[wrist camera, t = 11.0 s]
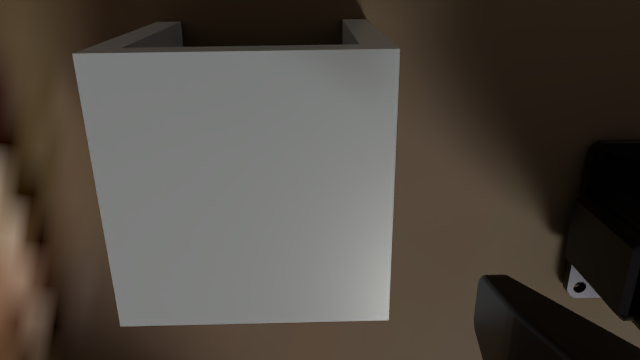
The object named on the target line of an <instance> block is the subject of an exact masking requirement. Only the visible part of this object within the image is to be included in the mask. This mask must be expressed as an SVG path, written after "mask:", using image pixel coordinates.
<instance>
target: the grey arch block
mask: <svg viewBox="0 0 640 360" xmlns="http://www.w3.org/2000/svg"><path fill="white" fill-rule="evenodd" d="M72 55H73V61H74V67H75V72H76V78H77V84H78V89H79V95H80V100H81V106H82V112H83V117H84V123H85V129H86V134H87V140H88V146H89V151H90V157H91V163H92V168H93V174H94V179H95V185H96V191H97V196H98V202H99V208H100V213H101V219H102V225H103V230H104V236H105V242H106V247H107V253H108V258H109V264H110V270H111V275H112V281H113V287H114V292H115V298H116V304H117V309H118V315H119V321H120V326H121V327H122V326H164V325H206V324H248V323H290V322H332V321H375V320H389V297H390V274H391V250H392V227H393V204H394V180H395V157H396V133H397V110H398V86H399V63H400V48H399V47H397V46H396V45H395V44H394V43H393V42H392V41H391V40H390V39H388V38H387V37H386V36H385V35H384V34H383V33H382V32H381V31H379V30H378V29H377V28H376V27H375V26H374V25H373V24H371V23H370V22H369V21H368V20H367V19H343V45H279V46H211V47H183V38H182V28H181V22H155V23H153V24H150V25H147V26H145V27H142V28H139V29H137V30H134V31H131V32H129V33H126V34H123V35H121V36H118V37H115V38H113V39H110V40H107V41H105V42H102V43H99V44H97V45H94V46H91V47H89V48H86V49H83V50H81V51H78V52H75V53H73V54H72Z"/></svg>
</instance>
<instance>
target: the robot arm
mask: <svg viewBox="0 0 640 360" xmlns="http://www.w3.org/2000/svg"><path fill="white" fill-rule="evenodd" d="M606 150H607V152H608V154H607V156H606V157H605V158H604V159H601V160H599V156H600V154H601V153H602V152H603V151H606ZM565 258H566V259H567V263H566V268H565V274H564V279H563V287H564V289H565V290H566V291H567V293H568V294H569V295H570V296H572V297H574V298H602V299H603V300H604V302H605V303H606V304H607V305H608V306H609V307H610V308H611V309H612V311H613V312H614V313H615V314H616V315H617V316H618V317H619V318H620V319H621V320H623V321H632V322H633V323H634V324H635V325H636V327H637V328H638V329H639V330H640V140H602V141H598V142H596V143H594V144H593V145H592V146H591V147H590V148H589V150H588V153H587V157H586V162H585V168H584V173H583V178H582V184H581V189H580V194H579V196H578V197H577V198H576V199H575V201H574V206H573V211H572V217H571V222H570V228H569V233H568V238H567V244H566V249H565ZM578 282H581V284H580V285H579V286H578V287H574V285H575V284H576V283H578ZM474 328H475V333H476V336H477V340H478V344H479V347H480V351H481V354H482V358H483V360H640V348H638V347H636V346H634V345H633V344H631V343H629V342H627V341H625V340H624V339H622V338H620V337H618V336H616V335H614V334H613V333H611V332H609V331H607V330H605V329H604V328H602V327H600V326H598V325H596V324H594V323H593V322H591V321H589V320H587V319H585V318H584V317H582V316H580V315H578V314H576V313H574V312H573V311H571V310H569V309H567V308H565V307H564V306H562V305H560V304H558V303H556V302H555V301H553V300H551V299H549V298H547V297H545V296H544V295H542V294H540V293H538V292H536V291H535V290H533V289H531V288H529V287H527V286H525V285H524V284H522V283H520V282H518V281H516V280H515V279H513V278H511V277H509V276H507V275H483V276H482V277H481V278H480V280H479V282H478V288H477V297H476V305H475V313H474Z"/></svg>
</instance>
